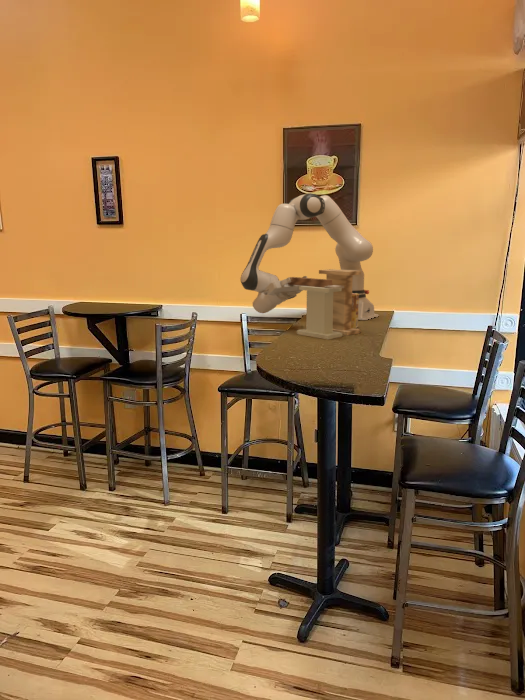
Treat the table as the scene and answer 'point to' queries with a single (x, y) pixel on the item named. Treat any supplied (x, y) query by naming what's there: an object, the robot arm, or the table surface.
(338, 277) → the tall pedestal
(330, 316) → the short pedestal
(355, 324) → the candy box
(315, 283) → the scraper
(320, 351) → the table surface
